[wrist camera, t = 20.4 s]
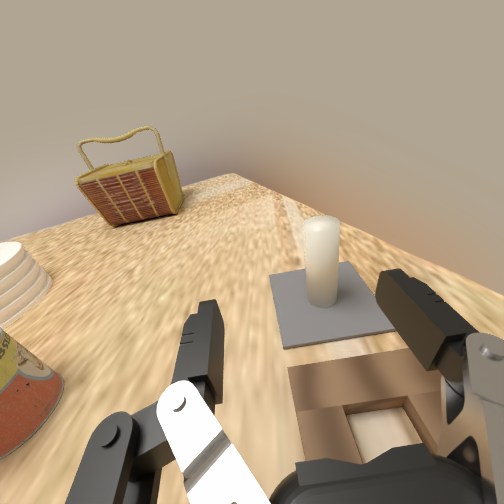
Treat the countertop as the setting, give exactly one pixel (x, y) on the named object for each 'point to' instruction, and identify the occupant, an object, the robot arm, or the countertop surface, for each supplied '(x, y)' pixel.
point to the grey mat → (326, 310)
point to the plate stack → (19, 283)
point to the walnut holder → (362, 399)
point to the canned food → (24, 394)
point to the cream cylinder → (321, 259)
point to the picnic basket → (132, 185)
